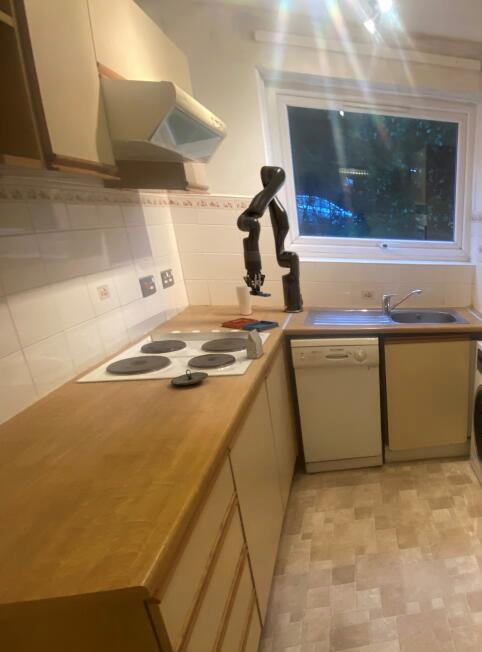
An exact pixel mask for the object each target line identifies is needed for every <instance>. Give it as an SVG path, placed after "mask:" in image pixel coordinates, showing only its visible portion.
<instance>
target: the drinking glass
mask: <svg viewBox="0 0 482 652" xmlns="http://www.w3.org/2000/svg"><path fill="white" fill-rule="evenodd" d="M250 291H251V287H248V286H247V285H236V286H235V292H236V297H237V301H238V306H239V310H240V315H242V316H250V315H252V313H253V312H252V295H250Z"/></svg>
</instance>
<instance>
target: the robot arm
mask: <svg viewBox="0 0 482 652" xmlns="http://www.w3.org/2000/svg"><path fill="white" fill-rule="evenodd" d="M259 173H260V174H259V175H260V181H261V185H262V187H263V189H262V190H259V192H258V193H256V194H255V195H254V197H252V200H251V201H250V203H249V205H248V207H246V209H244V211H242V212H241V214H240V215H239V216H238V217H237V219H236V227H237V229H238V230H239V231H241V232H243V233H248V236H247V237H243V238H242V246H243V247H242V249H243V261H244V269H245V270H246V275H245V276H243V277H242V279H243V280H244V283H245V284H246V286H248V287H250V290H251V291H252V295H251V296H254V297H258V296H257V291H261V288H262V287H263V286H264V283H265V279H266V275H265V274H263V273H262V271H261V270H263V269H262V268H263V265H262V257H261V252H260V244H259V241H260V235H261V230H262V225H261V222H260V221H259V220H260V219H262V217H263V216H264V215H265V212H266V211H267V208H268V213H269V220H270V225H271V228H272V234H273V241H274V248H275V257H276V263H277V265H278V267H279V268H281V269H282V268H283V269H289V272H288V273H286V274H282V276H281V285H282V295H283V309H284V312H286V313H299V312H302V311H303V310H304V308H303V306H304V299H303V295H302V294H303V293H301V283H300V282H301V281H300V278H301V277H300V276H301V269H300V255H299V254H298V252H296V251H293V250H286V248H285V240H286V238H287V236H288V233H289V231H290V228H291V223H290V222H291V221H290V217H289V213H288V210H287V209H286V207H285V206H284V204H283V203H282V201H281V199H280V198H279V197H278V193H279V192H280V191H281V190H282V188H283V187H284V186H285V184H286V182H287V174H286V171H285V170H284V168H283V167H281V166H277V165H275V166H274V165H263V166H261V167H260V172H259Z"/></svg>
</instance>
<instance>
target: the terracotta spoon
mask: <svg viewBox="0 0 482 652" xmlns="http://www.w3.org/2000/svg"><path fill="white" fill-rule="evenodd" d="M250 321H251V320H247V319H245V320H237V321H233V322H231V324H242V323H246V322H250Z"/></svg>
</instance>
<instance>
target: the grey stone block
mask: <svg viewBox="0 0 482 652" xmlns="http://www.w3.org/2000/svg"><path fill="white" fill-rule="evenodd" d="M244 344H245V351H246V358H247V359H259V358H260V357H261V356H262V355H263V354H264V348H263V339H262V337H261V336H260V334H259V333H258V331H256V329H254V330H252V331H251V330H250V331H249V332H248V335H247V338H246V341H245V343H244Z"/></svg>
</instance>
